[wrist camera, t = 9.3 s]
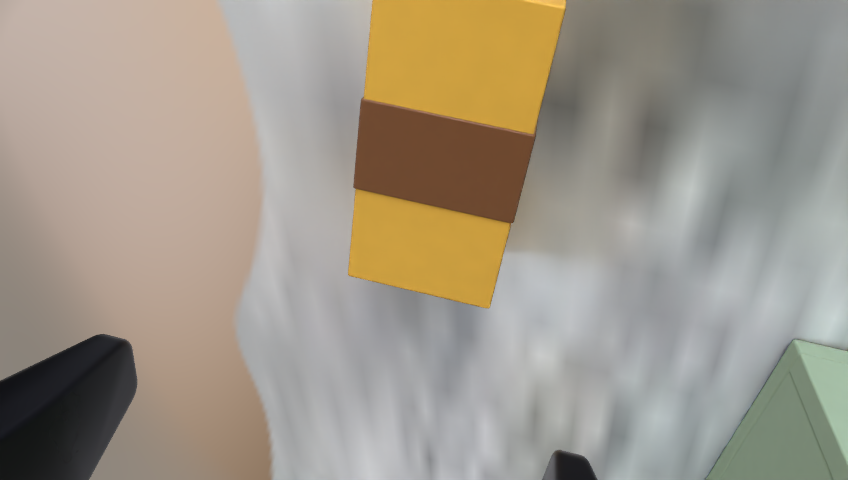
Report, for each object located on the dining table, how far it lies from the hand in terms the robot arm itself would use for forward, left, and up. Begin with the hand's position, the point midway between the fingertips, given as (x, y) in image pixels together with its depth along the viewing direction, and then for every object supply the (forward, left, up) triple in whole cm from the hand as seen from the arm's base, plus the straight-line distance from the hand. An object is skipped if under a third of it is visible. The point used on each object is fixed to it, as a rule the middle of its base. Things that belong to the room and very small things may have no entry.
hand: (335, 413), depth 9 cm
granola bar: (0, 0, -11) cm, 11 cm away
